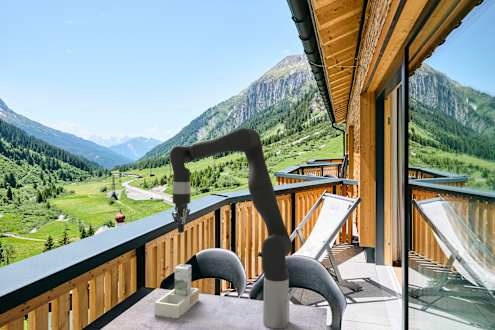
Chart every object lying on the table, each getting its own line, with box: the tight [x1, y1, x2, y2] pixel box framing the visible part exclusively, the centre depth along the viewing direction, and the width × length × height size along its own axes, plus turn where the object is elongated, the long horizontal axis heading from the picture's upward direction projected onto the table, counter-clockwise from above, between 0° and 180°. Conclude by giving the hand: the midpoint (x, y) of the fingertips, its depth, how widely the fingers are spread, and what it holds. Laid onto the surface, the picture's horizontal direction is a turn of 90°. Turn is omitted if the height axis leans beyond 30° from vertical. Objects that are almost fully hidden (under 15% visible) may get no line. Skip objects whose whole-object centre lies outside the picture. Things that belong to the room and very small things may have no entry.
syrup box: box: [174, 263, 192, 296], centre depth 152 cm, size 6×6×14 cm
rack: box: [154, 287, 200, 319], centre depth 148 cm, size 10×19×5 cm, turn 163°
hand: (181, 232), depth 156 cm, fingers closed
